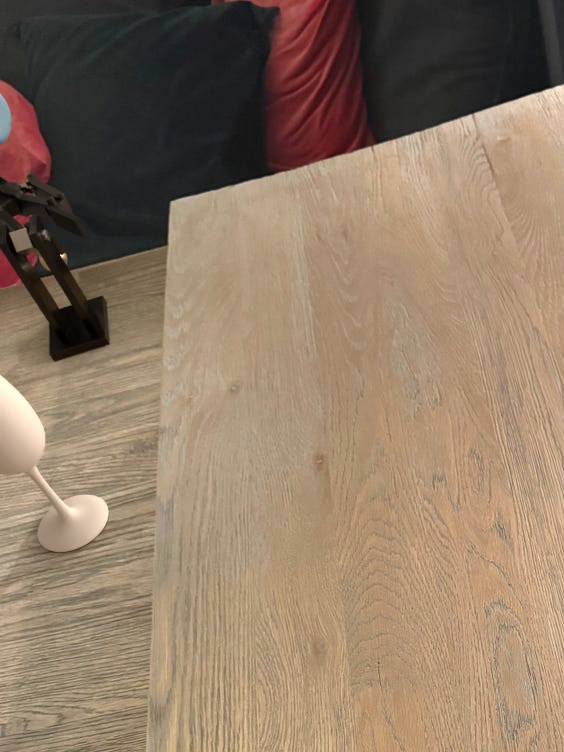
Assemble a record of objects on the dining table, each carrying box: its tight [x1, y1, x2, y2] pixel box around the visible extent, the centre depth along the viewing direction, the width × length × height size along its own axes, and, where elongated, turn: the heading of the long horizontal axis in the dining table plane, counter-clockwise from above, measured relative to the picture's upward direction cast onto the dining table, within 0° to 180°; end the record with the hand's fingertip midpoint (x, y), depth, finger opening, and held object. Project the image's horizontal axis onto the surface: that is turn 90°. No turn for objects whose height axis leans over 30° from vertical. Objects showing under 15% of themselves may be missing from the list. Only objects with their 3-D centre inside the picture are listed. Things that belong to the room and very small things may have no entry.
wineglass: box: [0, 374, 109, 553], centre depth 102 cm, size 9×9×21 cm
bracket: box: [0, 215, 110, 362], centre depth 126 cm, size 10×8×16 cm
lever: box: [9, 227, 68, 272], centre depth 126 cm, size 13×4×4 cm
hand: (69, 236), depth 127 cm, fingers open, 3 cm apart
